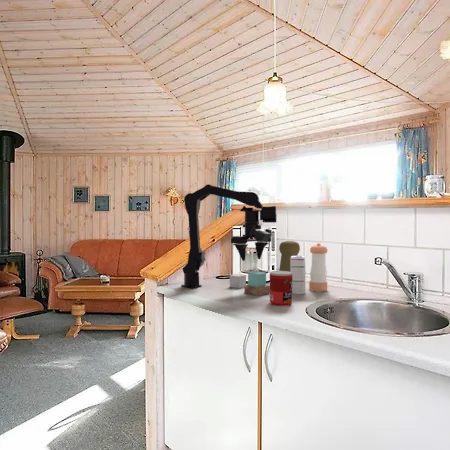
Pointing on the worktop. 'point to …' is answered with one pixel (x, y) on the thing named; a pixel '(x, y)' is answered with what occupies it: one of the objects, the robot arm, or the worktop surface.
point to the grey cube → (237, 280)
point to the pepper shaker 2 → (318, 269)
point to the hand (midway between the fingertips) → (251, 259)
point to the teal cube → (256, 279)
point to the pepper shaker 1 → (287, 254)
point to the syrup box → (298, 274)
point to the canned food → (281, 288)
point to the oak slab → (257, 290)
